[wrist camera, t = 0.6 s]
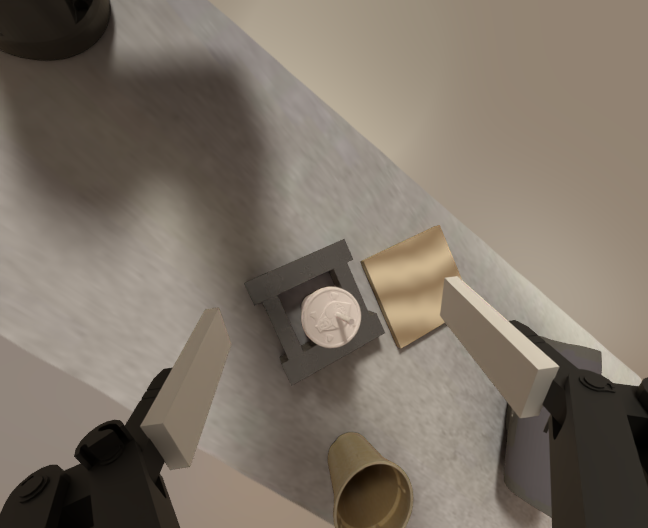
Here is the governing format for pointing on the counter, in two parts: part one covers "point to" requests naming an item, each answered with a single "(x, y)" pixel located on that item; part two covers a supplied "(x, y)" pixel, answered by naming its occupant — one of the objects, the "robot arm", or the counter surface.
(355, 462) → the flower pot
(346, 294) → the smoothie
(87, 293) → the counter surface
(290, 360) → the dark grey flat frame
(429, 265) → the birch board
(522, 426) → the bluetooth speaker
